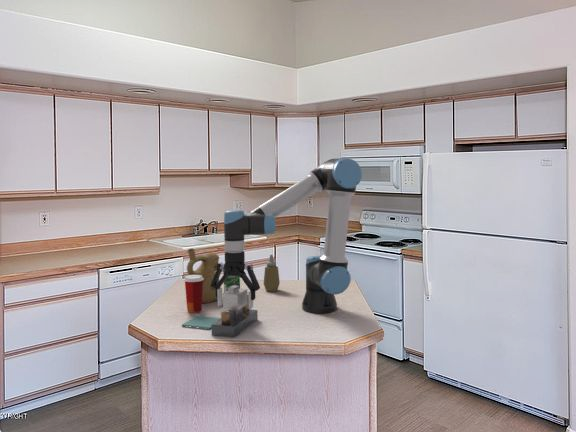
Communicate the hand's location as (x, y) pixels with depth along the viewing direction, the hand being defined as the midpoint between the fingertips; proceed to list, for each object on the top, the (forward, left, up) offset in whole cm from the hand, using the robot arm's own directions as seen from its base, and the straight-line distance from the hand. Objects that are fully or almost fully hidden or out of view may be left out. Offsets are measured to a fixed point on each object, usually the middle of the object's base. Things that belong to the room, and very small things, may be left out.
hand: (235, 306), depth 185 cm
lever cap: (0, 0, 0) cm, 0 cm away
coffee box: (+25, -49, -8) cm, 56 cm away
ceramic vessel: (+31, -31, -8) cm, 45 cm away
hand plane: (0, 0, -8) cm, 8 cm away
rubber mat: (+14, 0, -8) cm, 16 cm away
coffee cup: (+26, -14, -8) cm, 31 cm away
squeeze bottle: (+7, -57, -8) cm, 58 cm away
